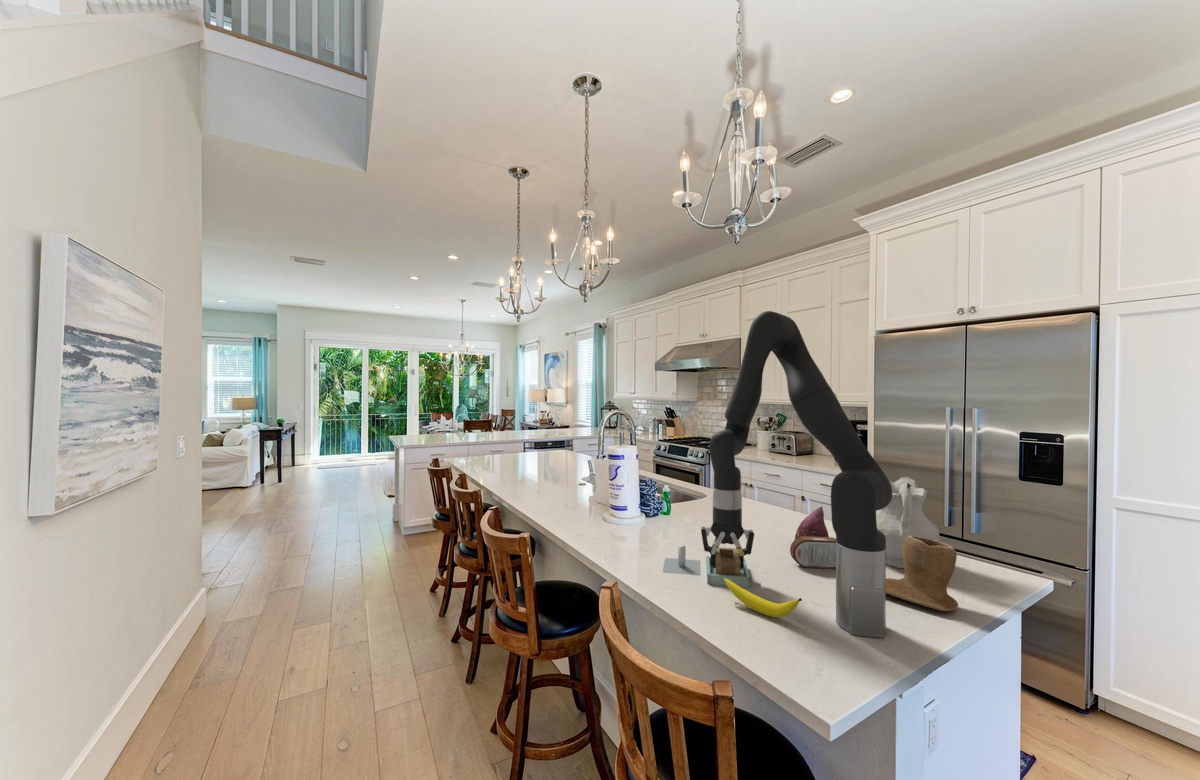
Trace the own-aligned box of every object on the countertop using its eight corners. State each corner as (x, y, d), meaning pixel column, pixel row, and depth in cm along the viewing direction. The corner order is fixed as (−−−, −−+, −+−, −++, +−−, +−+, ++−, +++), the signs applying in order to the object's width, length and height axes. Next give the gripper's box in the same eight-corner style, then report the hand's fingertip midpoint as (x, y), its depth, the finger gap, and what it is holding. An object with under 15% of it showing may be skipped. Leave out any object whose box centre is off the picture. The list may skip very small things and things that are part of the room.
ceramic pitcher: (957, 584, 123) (965, 490, 123) (877, 574, 126) (885, 482, 126) (915, 556, 145) (922, 476, 144) (848, 547, 148) (855, 469, 148)
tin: (844, 566, 133) (844, 536, 133) (849, 570, 130) (849, 540, 130) (789, 564, 135) (789, 534, 135) (793, 568, 132) (793, 538, 132)
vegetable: (829, 556, 150) (842, 511, 150) (825, 561, 142) (839, 514, 141) (795, 542, 156) (808, 499, 156) (789, 546, 147) (803, 501, 147)
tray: (750, 589, 117) (750, 578, 117) (707, 585, 119) (707, 574, 119) (744, 569, 130) (745, 559, 130) (706, 566, 133) (706, 556, 133)
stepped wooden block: (740, 575, 120) (740, 560, 120) (716, 574, 121) (716, 558, 121) (737, 563, 129) (737, 548, 129) (714, 561, 130) (714, 547, 130)
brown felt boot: (966, 605, 109) (966, 541, 109) (948, 620, 102) (948, 551, 102) (894, 583, 121) (894, 525, 121) (874, 595, 114) (874, 534, 114)
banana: (727, 596, 113) (727, 570, 113) (804, 626, 99) (804, 596, 99) (720, 600, 111) (720, 573, 111) (798, 631, 97) (798, 600, 97)
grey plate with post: (700, 577, 125) (700, 554, 125) (662, 574, 127) (662, 551, 127) (699, 562, 136) (699, 541, 136) (665, 559, 138) (665, 538, 138)
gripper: (699, 507, 123) (699, 571, 123) (757, 510, 120) (757, 575, 120) (699, 500, 130) (699, 561, 130) (753, 503, 127) (753, 565, 127)
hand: (727, 567), depth 125 cm, fingers closed on stepped wooden block, 5 cm apart
